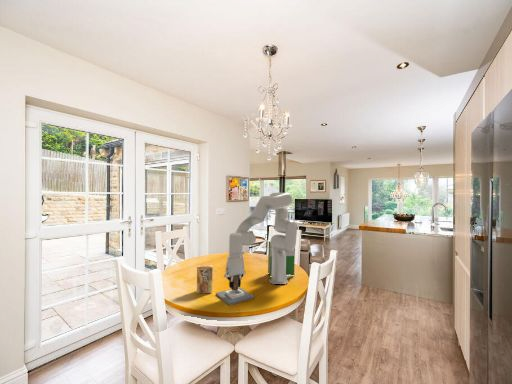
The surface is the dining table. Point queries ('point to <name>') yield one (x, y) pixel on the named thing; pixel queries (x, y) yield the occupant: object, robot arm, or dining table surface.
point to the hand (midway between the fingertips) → (234, 286)
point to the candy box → (204, 278)
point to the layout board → (234, 296)
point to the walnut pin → (235, 282)
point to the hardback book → (289, 261)
